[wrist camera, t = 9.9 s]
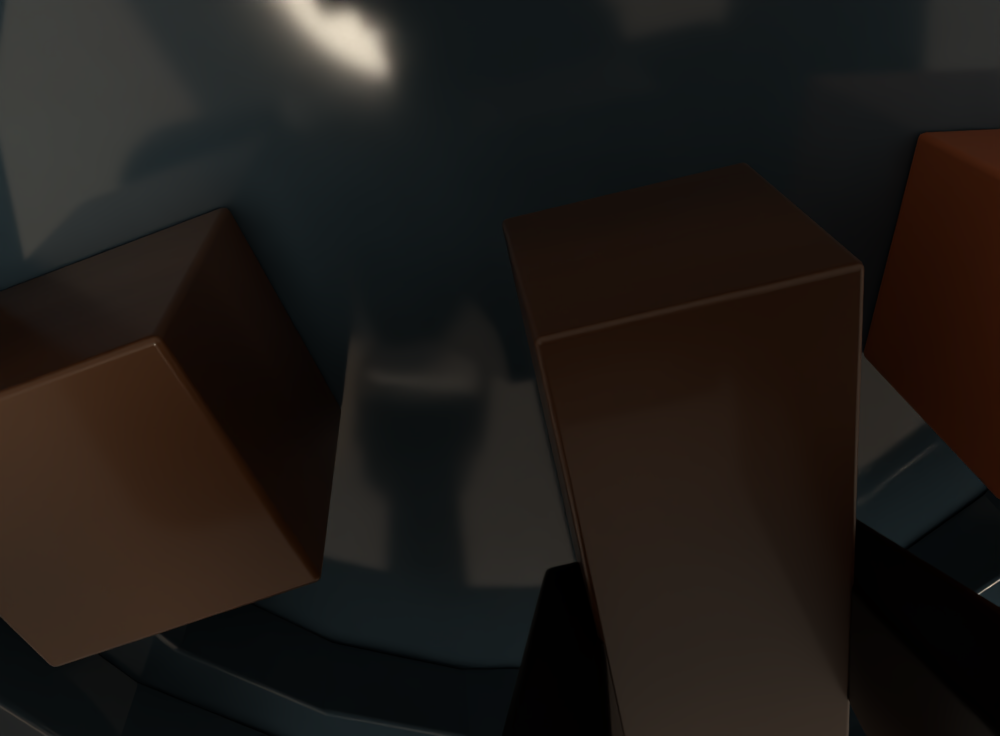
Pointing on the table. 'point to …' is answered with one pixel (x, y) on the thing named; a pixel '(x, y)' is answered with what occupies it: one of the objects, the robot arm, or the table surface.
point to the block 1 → (156, 443)
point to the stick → (704, 444)
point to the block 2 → (947, 296)
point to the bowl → (450, 289)
